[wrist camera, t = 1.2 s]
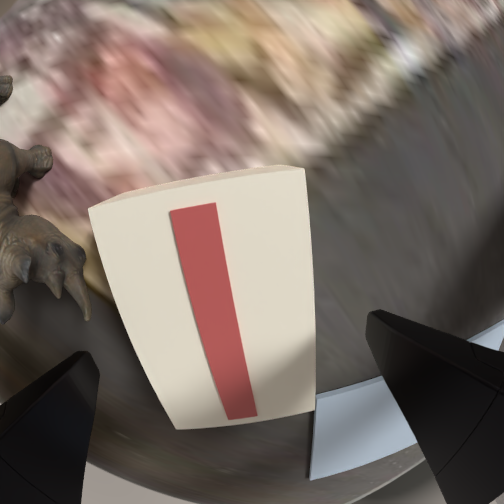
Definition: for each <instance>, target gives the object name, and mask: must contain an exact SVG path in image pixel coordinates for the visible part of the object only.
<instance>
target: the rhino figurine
mask: <svg viewBox="0 0 504 504" xmlns="http://www.w3.org/2000/svg"><path fill="white" fill-rule="evenodd" d="M12 80H13V78H12V77H11V76H0V104H1V103H2V102H4V100H5V99H6V98H9V96H10V95H11V93H12V90H13V86H12ZM52 165H53V158H52V155H51V150H50V148H49V147H44V146H42V145H35V146H33V147H32V148H31V149H29V150H23V149H19V148H18V147H16V146H15V145H13V144H11V143H9V142H8V141H5V140H2V139H0V322H1V324H5V323H6V322H7V321H8V320H10V318H11V316H12V315H13V313H14V310H15V301H14V296H13V289H14V288H16V287H18V286H20V285H21V284H22V283H25V284H27V283H28V281H29V280H34V281H36V282H44V283H45V284H46V285H47V286H48V287H49V288H50V290H51V291H52V292H53V294H54V295H55V296H56V298H57V299H60V298H61V292H62V286H63V287H64V288H65V289H66V290H67V291H68V292H69V293H70V294H71V295H72V297H73V298H74V299H75V301H76V302H77V303H78V305H79V307H80V308H81V311H82V313H83V317H84V320H85V321H90V319H91V313H92V308H91V303H90V299H89V294H88V290H87V287H86V283H85V280H84V278H83V268H82V267H83V265H84V263H85V260H86V254H85V251H84V249H83V248H82V247H81V246H80V245H78V244H76V243H74V242H73V241H71V240H70V239H69V238H68V237H66V236H65V235H64V234H63V233H61V232H60V231H59V230H58V229H57V228H56V227H55V226H54V225H53V224H52V223H51V222H49V221H48V220H46V219H44V218H42V217H40V216H37V215H26V216H22V217H19V215H18V209H17V207H16V206H14V205H13V201H12V198H14V197H15V196H16V191H17V189H18V187H19V178H18V177H19V176H20V175H21V174H23V173H25V172H29V173H30V174H31V175H33V176H35V177H37V178H40V177H43V176H44V174H45V172H46V171H48V170H50V169H51V168H52Z"/></svg>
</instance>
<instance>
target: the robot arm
mask: <svg viewBox="0 0 504 504" xmlns="http://www.w3.org/2000/svg"><path fill="white" fill-rule="evenodd" d="M366 340H367V342H368V344H369V347H370V349H371V351H372V354H373V356H374V358H375V361H376V363H377V366H378V368H379V370H380V373H381V375H382V377H383V379H384V381H385V383H386V384H387V386H388V388H389V390H390V392H391V393H392V395H393V397H394V399H395V401H396V402H397V404H398V406H399V408H400V410H401V412H402V413H403V415H404V417H405V419H406V421H407V423H408V425H409V427H410V429H411V430H412V432H413V434H414V436H415V438H416V440H417V442H418V444H419V446H420V448H421V450H422V452H423V454H424V456H425V458H426V460H427V462H428V464H429V466H430V468H431V470H432V472H433V474H434V476H435V479H436V481H437V483H438V485H439V488H440V489H441V492H442V494H443V496H444V499H445V501H446V503H447V504H489V503H490V502H492V501H493V500H495V501H496V502H497V504H504V352H501V351H497V350H494V349H491V348H488V347H484V346H481V345H479V344H476V343H473V342H469V341H467V340H464V339H462V338H459V337H456V336H453V335H450V334H447V333H445V332H442V331H439V330H436V329H433V328H431V327H428V326H425V325H422V324H420V323H417V322H414V321H411V320H408V319H406V318H403V317H400V316H397V315H395V314H392V313H389V312H387V311H384V310H381V309H379V310H375V311H371V312H369V313H368V316H367V325H366ZM99 378H100V373H99V369H98V367H97V366H96V364H95V362H94V360H93V358H92V356H91V354H90V353H89V352H88V351H77V352H76V353H74V354H73V355H71V356H70V357H68V358H67V359H65V360H64V361H62V362H61V363H60V364H58V365H57V366H55V367H54V368H52V369H51V370H50V371H48V372H47V373H45V374H44V375H42V376H41V377H40V378H38V379H37V380H35V381H34V382H32V383H31V384H30V385H28V386H27V387H25V388H24V389H23V390H21V391H20V392H18V393H17V394H16V395H14V396H13V397H11V398H10V399H9V400H8V401H6V402H4V403H3V404H2V405H0V504H81V498H82V488H83V480H84V472H85V465H86V459H87V452H88V446H89V441H90V436H91V430H92V425H93V421H94V415H95V409H96V400H97V392H98V385H99Z"/></svg>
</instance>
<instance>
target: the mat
mask: <svg viewBox="0 0 504 504" xmlns="http://www.w3.org/2000/svg"><path fill="white" fill-rule="evenodd" d="M503 337H504V319H503V320H502V321H500V322H498V323H497V324H495V325H493V326H491V327H490V328H488V329H486V330H484V331H482V332H481V333H479V334H477V335H475V336H473V337H471V338H469V339H467V341H469V342H473V343H476V344H479V345H481V346H484V347H488V348H491V349H494V350H497V351H498V350H499V347H500V345H501V342H502V340H503ZM415 443H417V440H416V438H415V436H414V434H413V432H412V430H411V429H410V427H409V425H408V423H407V421H406V419H405V417H404V415H403V413H402V412H401V410H400V408H399V406H398V404H397V402H396V401H395V399H394V397H393V395H392V393H391V392H390V390H389V388H388V386H387V384H386V383H385V381H384V379H383V377H382V376H379V377H376V378H373V379H370V380H367V381H364V382H360V383H357V384H354V385H350V386H347V387H343V388H340V389H336V390H332V391H328V392H324V393H320V394H316V395H315V410H314V425H313V440H312V453H311V464H310V474H309V478H310V480H314V479H318V478H322V477H326V476H330V475H333V474H337V473H340V472H343V471H347V470H350V469H353V468H356V467H359V466H362V465H364V464H367V463H370V462H373V461H375V460H378V459H380V458H383V457H385V456H388V455H390V454H393V453H395V452H397V451H400V450H402V449H404V448H406V447H408V446H411V445H413V444H415Z"/></svg>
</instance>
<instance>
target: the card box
mask: <svg viewBox="0 0 504 504" xmlns="http://www.w3.org/2000/svg"><path fill="white" fill-rule="evenodd" d="M88 212H89V216H90V221H91V225H92V229H93V232H94V236H95V240H96V243H97V247H98V250H99V254H100V257H101V261H102V264H103V267H104V270H105V273H106V276H107V279H108V282H109V285H110V288H111V291H112V294H113V297H114V299H115V302H116V305H117V308H118V310H119V313H120V315H121V318H122V321H123V323H124V325H125V328H126V330H127V333H128V335H129V338H130V340H131V342H132V344H133V347H134V349H135V351H136V353H137V356H138V358H139V360H140V362H141V364H142V366H143V369H144V371H145V373H146V375H147V377H148V379H149V381H150V383H151V385H152V387H153V389H154V391H155V392H156V394H157V396H158V398H159V400H160V402H161V404H162V406H163V407H164V409H165V411H166V413H167V414H168V416H169V418H170V420H171V421H172V423H173V425H174V426H175V428H176V430H178V429H197V428H210V427H221V426H230V425H238V424H246V423H252V422H259V421H265V420H271V419H276V418H281V417H286V416H291V415H296V414H300V413H305V412H309V411H313V410H315V388H316V346H315V305H314V282H313V263H312V247H311V234H310V221H309V209H308V199H307V188H306V179H305V170H304V168H298V167H292V166H286V165H272V166H264V167H257V168H250V169H243V170H236V171H230V172H223V173H217V174H211V175H206V176H200V177H195V178H189V179H184V180H179V181H174V182H169V183H164V184H160V185H155V186H150V187H146V188H142V189H137V190H133V191H129V192H125V193H122V194H120V195H117V196H115V197H113V198H110V199H108V200H106V201H103V202H101V203H99V204H97V205H94V206H92V207H90V208H88Z"/></svg>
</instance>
